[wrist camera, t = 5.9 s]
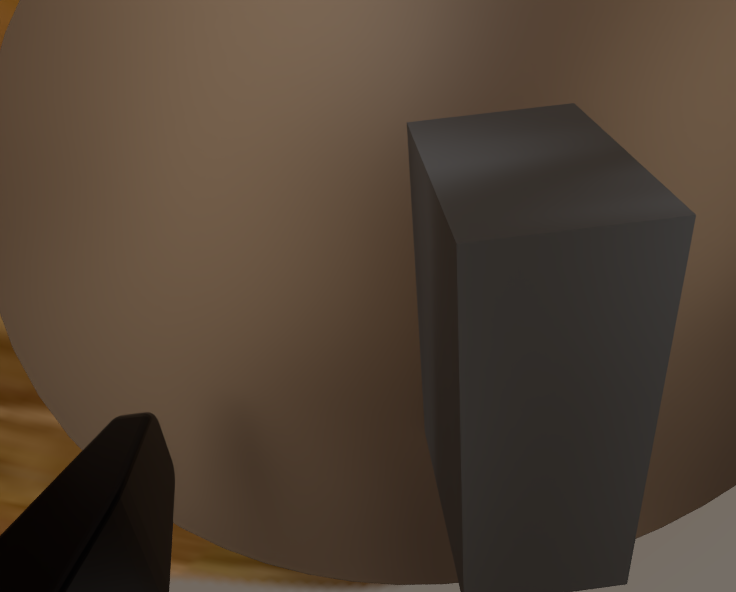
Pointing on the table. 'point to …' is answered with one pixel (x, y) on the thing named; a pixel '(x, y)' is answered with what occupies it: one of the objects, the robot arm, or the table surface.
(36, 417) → the table surface
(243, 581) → the table surface
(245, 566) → the table surface
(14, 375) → the table surface
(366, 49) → the walnut lid
